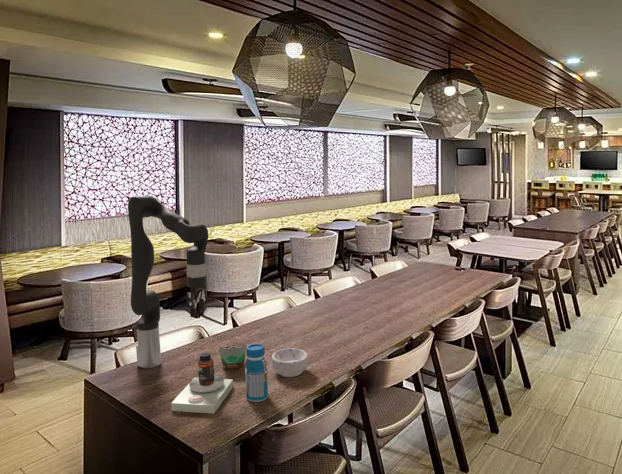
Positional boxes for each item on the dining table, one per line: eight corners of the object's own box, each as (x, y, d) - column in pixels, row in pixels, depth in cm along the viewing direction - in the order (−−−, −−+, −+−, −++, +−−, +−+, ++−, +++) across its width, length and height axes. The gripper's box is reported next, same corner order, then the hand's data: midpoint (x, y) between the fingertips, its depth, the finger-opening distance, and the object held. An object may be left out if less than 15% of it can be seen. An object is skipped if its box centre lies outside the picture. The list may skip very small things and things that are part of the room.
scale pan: (184, 393, 176) (183, 389, 176) (197, 378, 188) (197, 374, 188) (217, 395, 174) (217, 391, 173) (228, 379, 186) (228, 375, 186)
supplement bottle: (215, 378, 184) (214, 350, 182) (213, 385, 178) (211, 356, 176) (200, 379, 184) (198, 351, 182) (197, 386, 178) (195, 357, 176)
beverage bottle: (252, 405, 172) (250, 353, 169) (242, 396, 179) (239, 346, 176) (272, 398, 177) (271, 347, 174) (261, 390, 184) (259, 341, 181)
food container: (220, 373, 199) (219, 351, 198) (219, 367, 205) (218, 345, 204) (249, 369, 203) (248, 347, 201) (247, 364, 209) (246, 342, 207)
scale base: (171, 410, 169) (171, 401, 169) (195, 384, 190) (194, 376, 189) (214, 413, 167) (213, 404, 166) (233, 386, 187) (232, 378, 187)
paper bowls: (283, 384, 189) (283, 365, 187) (265, 370, 201) (265, 353, 200) (315, 374, 197) (314, 356, 196) (296, 362, 209) (295, 345, 208)
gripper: (194, 270, 194) (196, 307, 197) (179, 278, 180) (181, 318, 183) (212, 270, 193) (213, 308, 196) (197, 279, 179) (199, 320, 182)
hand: (197, 313), depth 189 cm, fingers open, 8 cm apart
